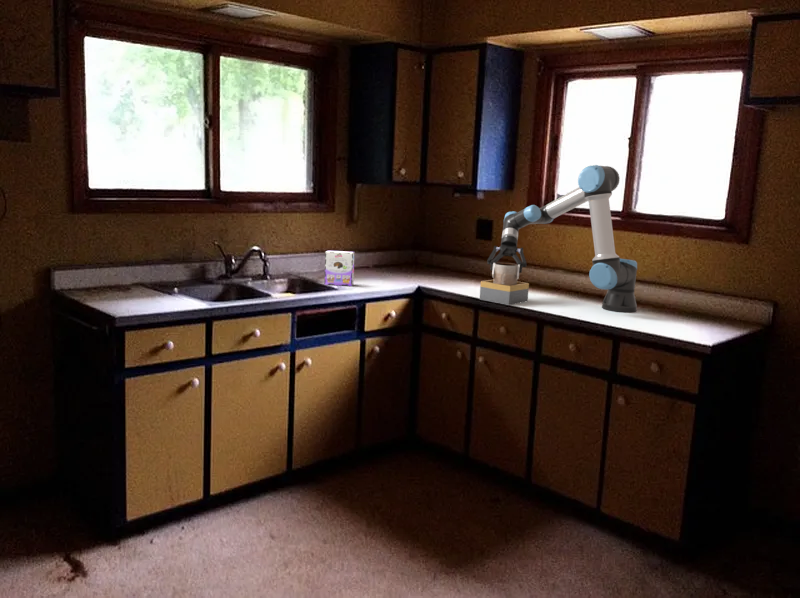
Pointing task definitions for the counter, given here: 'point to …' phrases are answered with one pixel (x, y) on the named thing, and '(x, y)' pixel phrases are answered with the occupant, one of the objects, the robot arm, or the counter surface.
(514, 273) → the planter
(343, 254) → the candy box
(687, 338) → the counter surface
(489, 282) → the square cup holder
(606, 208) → the robot arm
